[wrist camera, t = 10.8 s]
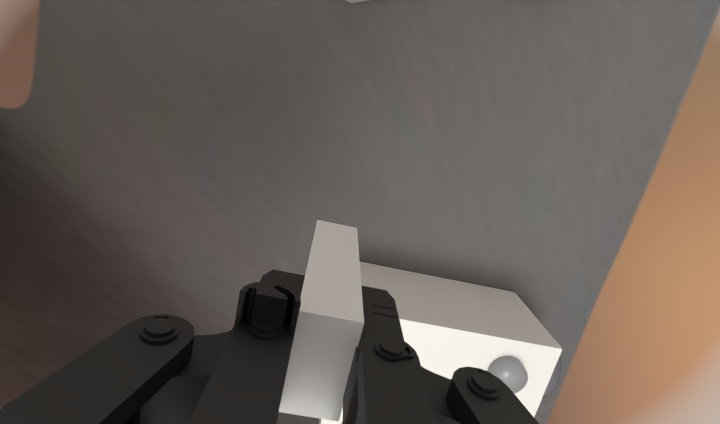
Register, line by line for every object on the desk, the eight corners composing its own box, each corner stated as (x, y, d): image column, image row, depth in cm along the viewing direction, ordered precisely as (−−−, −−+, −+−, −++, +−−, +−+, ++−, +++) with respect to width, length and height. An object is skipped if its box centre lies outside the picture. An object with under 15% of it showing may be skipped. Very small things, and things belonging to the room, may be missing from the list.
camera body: (324, 360, 45) (317, 442, 35) (347, 259, 42) (348, 316, 31) (501, 391, 47) (546, 478, 37) (537, 296, 44) (598, 362, 33)
